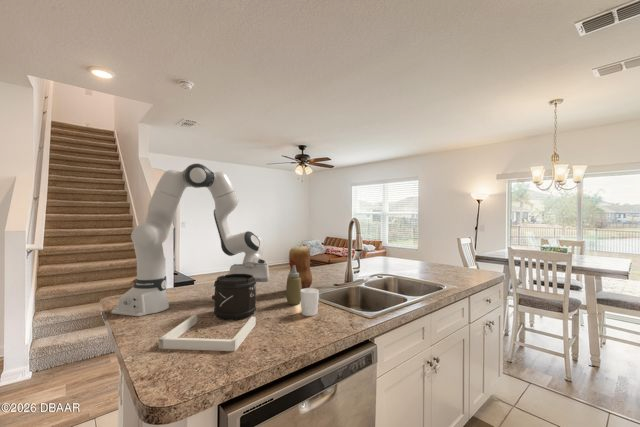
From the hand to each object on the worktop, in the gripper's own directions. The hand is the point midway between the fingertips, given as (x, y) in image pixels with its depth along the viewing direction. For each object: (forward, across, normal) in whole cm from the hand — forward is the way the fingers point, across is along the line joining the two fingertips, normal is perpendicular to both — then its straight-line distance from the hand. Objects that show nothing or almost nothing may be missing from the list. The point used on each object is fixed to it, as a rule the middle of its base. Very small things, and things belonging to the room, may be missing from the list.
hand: (245, 288), depth 142 cm
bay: (+31, 0, -21) cm, 37 cm away
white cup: (+13, +32, -3) cm, 35 cm away
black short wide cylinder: (+15, 0, -5) cm, 16 cm away
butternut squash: (-11, +23, +22) cm, 34 cm away
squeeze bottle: (+3, +23, +7) cm, 24 cm away
